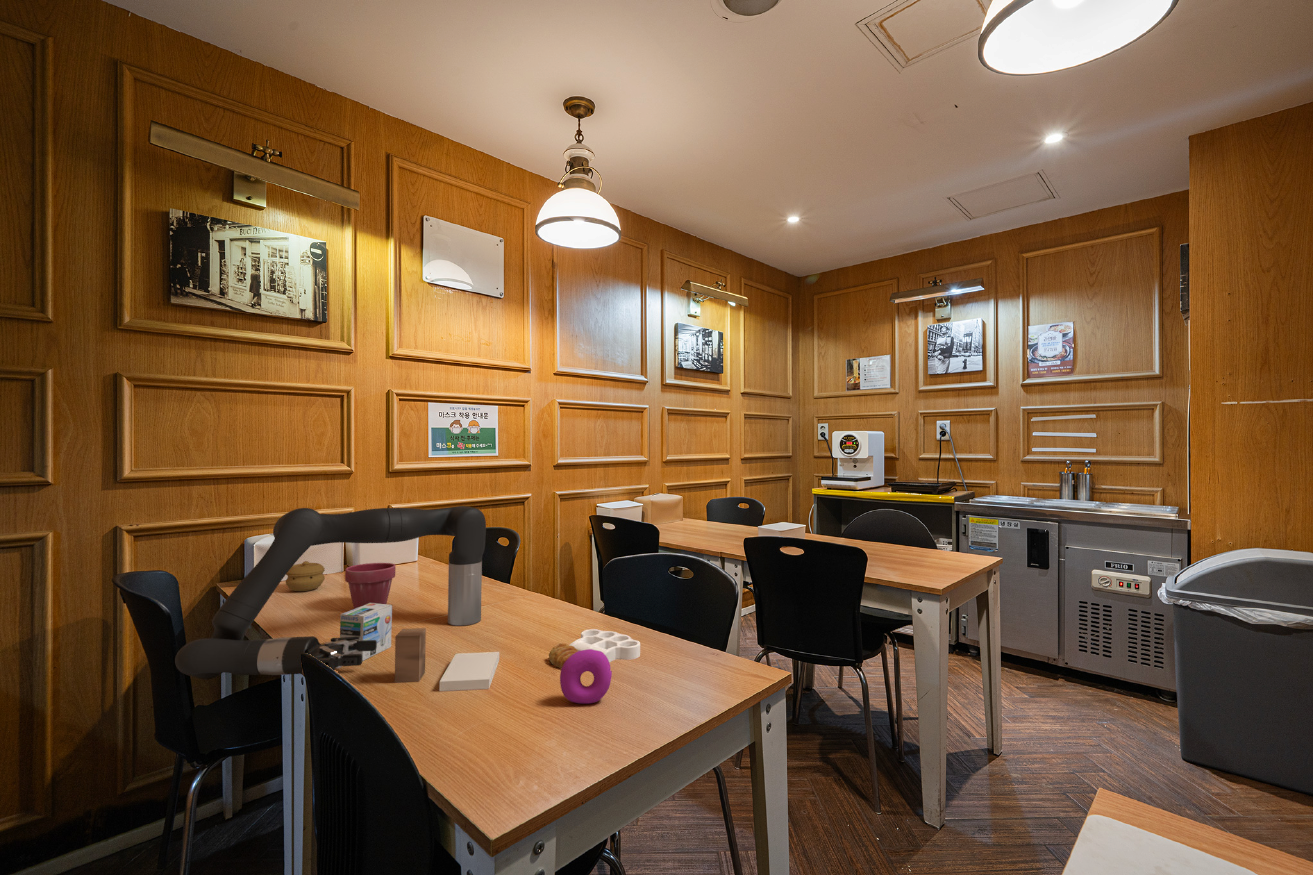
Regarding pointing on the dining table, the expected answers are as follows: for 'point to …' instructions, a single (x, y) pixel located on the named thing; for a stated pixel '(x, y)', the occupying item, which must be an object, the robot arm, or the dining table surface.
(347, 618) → the light bulb box
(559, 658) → the pastry
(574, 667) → the donut
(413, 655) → the walnut block
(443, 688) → the plastic platform
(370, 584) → the plant pot
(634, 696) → the dining table surface
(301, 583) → the pot
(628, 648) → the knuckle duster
